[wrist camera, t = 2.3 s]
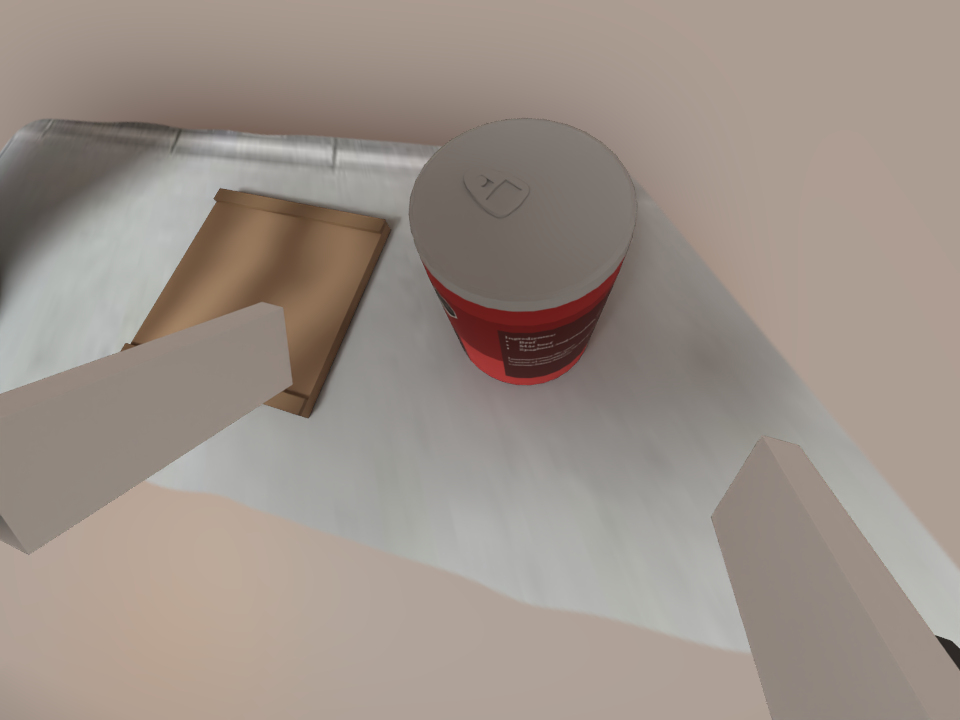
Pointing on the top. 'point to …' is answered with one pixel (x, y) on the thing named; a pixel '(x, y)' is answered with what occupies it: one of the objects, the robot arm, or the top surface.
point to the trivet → (275, 279)
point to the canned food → (523, 241)
